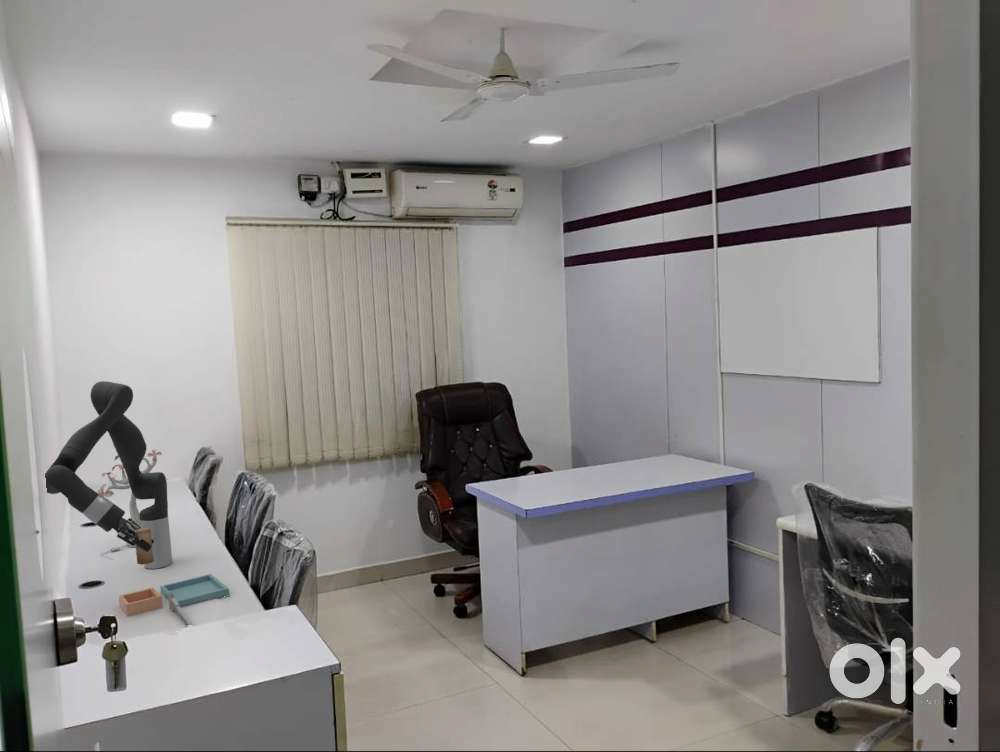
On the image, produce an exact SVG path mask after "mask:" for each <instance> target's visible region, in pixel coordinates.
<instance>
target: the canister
mask: <svg viewBox="0 0 1000 752" xmlns="http://www.w3.org/2000/svg"><path fill="white" fill-rule="evenodd" d="M135 531H137V535H139V536H140V537H141V538H142V539H143V540H145V541H146V542H148V543H149V544H150V545H152V539H151V529H150V528H140V529H137V530H135ZM135 554H136V564H137V565H144V564H149V563H151V562H153V561H154V559H153V549H152V547H151V549H150V550H149V551H148V552H146V551H145V550H143V549H142V548H140V547H139V546H137V545H136V547H135Z"/></svg>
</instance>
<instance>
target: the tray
mask: <svg viewBox="0 0 1000 752" xmlns="http://www.w3.org/2000/svg"><path fill="white" fill-rule="evenodd" d="M159 587H160V594H162V595H163V596H164V597H165V598H166V599H167V600H168V595H169V593H170V592H173V594H174V598H175V599H176V601H177V602H178V603H179V606H180V607H181V608H184V607H187V606H190V605H194V604H195V605H196V604H199V603H204V602H207V601H210V600H214V599H217V600H219V599H218V598H220V599H222V598H221V597H224V596H227V595H229V596H230V588H229V587H228V586H227V585H226V584H224V583H223V582H222V581H220V580H219V578H217V577H215V575H213V574H212V573H208V574H203V575H200V576H196V577H195V576H194V577H193V578H188V579H184V580H180V581H175V582H171V583H168V584H164V585H160V586H159ZM227 597H228V596H227ZM224 598H225V597H224Z"/></svg>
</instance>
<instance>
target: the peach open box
mask: <svg viewBox="0 0 1000 752" xmlns="http://www.w3.org/2000/svg"><path fill="white" fill-rule="evenodd" d="M162 597H163V596H162V595H161V593H159V592H158V591H157V590H156V589H155V588H154V587H149V588H145V589H141V590H137V591H131V592H129V593H124V594H120V595H118V602H119V608H120V609H121V611H122V612H123V613H124V614H125V616H126V617H131V616H134V615H138V614H142V613H146V612H151V611H153V610H157V609H162V608H163V598H162Z"/></svg>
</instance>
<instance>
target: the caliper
mask: <svg viewBox="0 0 1000 752" xmlns="http://www.w3.org/2000/svg"><path fill="white" fill-rule="evenodd" d="M167 600H168V609H169V610H170V612H174V613H176V614H178V616H179V617H180V619H181V620H182V622H184V624H185V625H186V626H187V625H193V626H194V624H193V622H192V621H191V619H190V618H189V617H188V616H187V614H186V613H185V612H184V610H183V609H182V607H180V606H179V603H178V602H177V601H176V599H175V598H174V594H173V592H170V593H169V595H168V599H167Z"/></svg>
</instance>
